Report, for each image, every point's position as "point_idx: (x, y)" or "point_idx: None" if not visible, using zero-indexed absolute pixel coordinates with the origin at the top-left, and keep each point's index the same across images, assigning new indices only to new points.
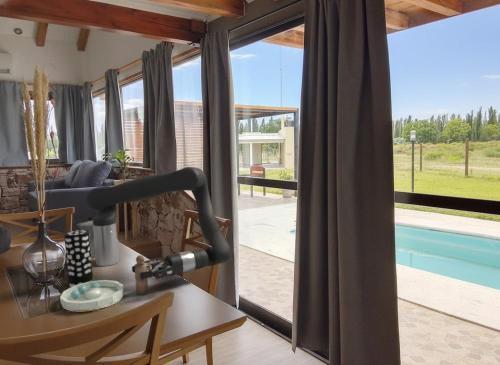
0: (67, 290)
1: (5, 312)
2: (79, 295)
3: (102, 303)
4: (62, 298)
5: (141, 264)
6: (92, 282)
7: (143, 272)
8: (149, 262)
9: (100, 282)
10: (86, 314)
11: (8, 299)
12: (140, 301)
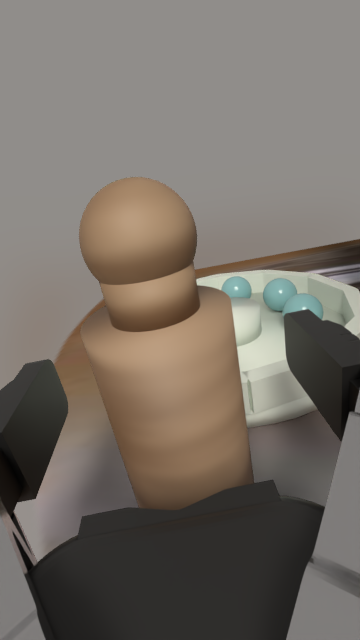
0: (269, 272)
1: (244, 260)
2: (262, 307)
3: None
4: (203, 278)
5: (106, 304)
6: (345, 297)
7: (23, 376)
8: (349, 419)
9: (352, 316)
10: None
11: (323, 247)
12: (58, 511)
